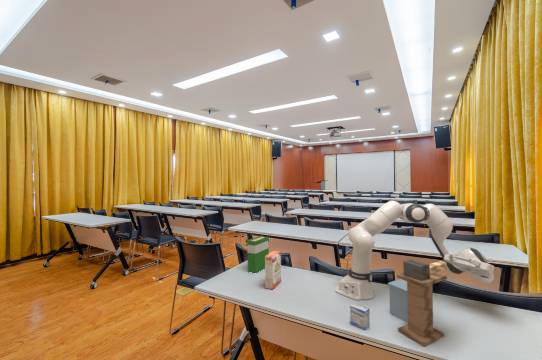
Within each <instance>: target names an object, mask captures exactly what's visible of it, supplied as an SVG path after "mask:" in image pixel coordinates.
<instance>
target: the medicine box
mask: <svg viewBox="0 0 542 360" xmlns="http://www.w3.org/2000/svg"><path fill="white" fill-rule="evenodd" d="M370 312H371V311H370V308H368V307H366V306H364V305H361V304H358V303H355V302H354V303H352V304H351V305H350V306H349V324H350V325H352V326H355V327H358V328H360V329H362V330H363V331H366V330H367V329H368V328H369V327H370V326H371V322H370V319H371V318H370V317H371V316H370Z"/></svg>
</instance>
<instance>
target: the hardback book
mask: <svg viewBox="0 0 542 360" xmlns="http://www.w3.org/2000/svg"><path fill="white" fill-rule="evenodd" d="M246 245H247V246H246V248H247V273H249V272H252V273H251V274H253V273H257V272H259V271H260V272H262V271H264V270H265V256H266V255H268V254H269V253H270V251H269V249H270V247H269V245H270V244H269V236H263V235H260V236H257V237H253V238H250V239H248V240H246ZM263 269H264V270H263ZM261 270H262V271H261ZM260 272H259V273H260ZM257 274H258V273H257Z"/></svg>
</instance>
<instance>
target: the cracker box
mask: <svg viewBox="0 0 542 360" xmlns="http://www.w3.org/2000/svg"><path fill="white" fill-rule="evenodd" d="M281 253H282V251H280V250H272V251H271V252H269V254H268V255H266V256H265V269H264V279H265V280H264V284H265V285H264V286H265V287H264V288H265V289H269V290H274V289H275V288H276V287H277V286H278V285H279V284H280V283H281V282H282V265H281V264H282V254H281Z"/></svg>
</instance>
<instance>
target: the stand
mask: <svg viewBox="0 0 542 360" xmlns="http://www.w3.org/2000/svg"><path fill="white" fill-rule="evenodd" d="M396 278H397V279H402V280H405V281H407V305H408V323H406V324H405V325H402V326H398V327H397V332H398V333H400V334H401V335H403V336H405V337H406V338H408V339H410V340H412V341H414V342H415V343H417V344H419V345H420V346H422V347H424V348H425V347H427V346H428V345H431V344H432V343H434V342H436V341H438V340H440V339H442V338H445V333H444V332H442V331H441V330H439V329H437V328H435V327H434V306H433V305H434V302H433V301H434V299H433V285H434V284H437V283H439V282H442V281H446V280H448V275H445V274H444V273H439V272H436V273H433V274H430V278H429V279H426V280H423V281H420V280H417V279H414V278H411V277H409V276H406V275H404V271H403V272H400V273H397V274H396Z"/></svg>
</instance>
